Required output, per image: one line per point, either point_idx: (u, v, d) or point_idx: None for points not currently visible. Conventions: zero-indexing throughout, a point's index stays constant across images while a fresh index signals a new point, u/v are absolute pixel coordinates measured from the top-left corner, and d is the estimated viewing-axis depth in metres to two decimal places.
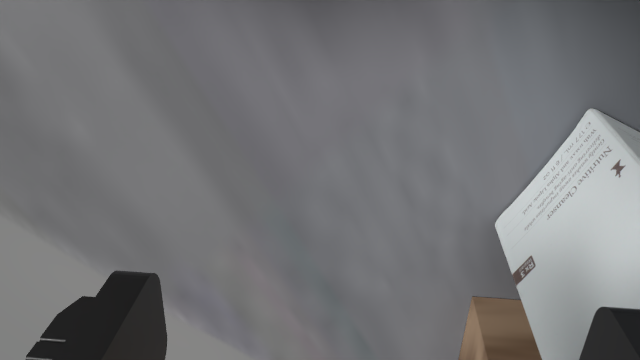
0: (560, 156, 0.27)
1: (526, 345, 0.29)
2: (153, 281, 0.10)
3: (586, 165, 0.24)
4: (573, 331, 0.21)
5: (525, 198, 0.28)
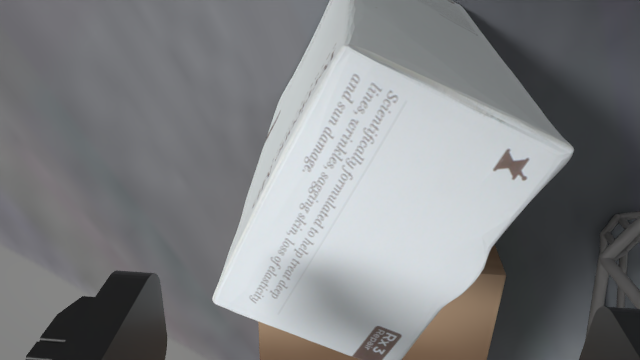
0: (326, 8, 0.24)
1: None
2: (153, 281, 0.10)
3: (331, 1, 0.22)
4: (265, 156, 0.18)
5: (300, 63, 0.25)
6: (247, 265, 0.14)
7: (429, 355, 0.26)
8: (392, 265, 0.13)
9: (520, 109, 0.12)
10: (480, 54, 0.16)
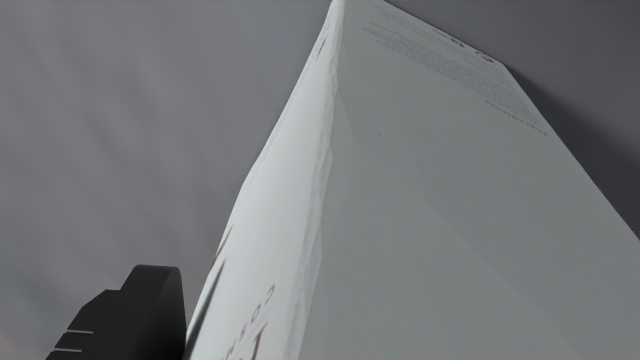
0: (305, 66, 0.16)
1: None
2: (175, 274, 0.10)
3: (309, 63, 0.14)
4: (184, 355, 0.10)
5: (268, 140, 0.18)
6: None
7: None
8: None
9: None
10: (577, 205, 0.08)
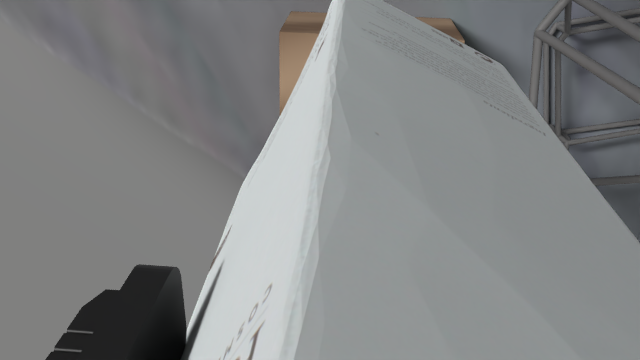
0: (304, 66, 0.16)
1: (320, 24, 0.34)
2: (175, 275, 0.10)
3: (308, 63, 0.14)
4: (183, 355, 0.10)
5: (267, 140, 0.18)
6: None
7: None
8: None
9: None
10: (576, 205, 0.08)
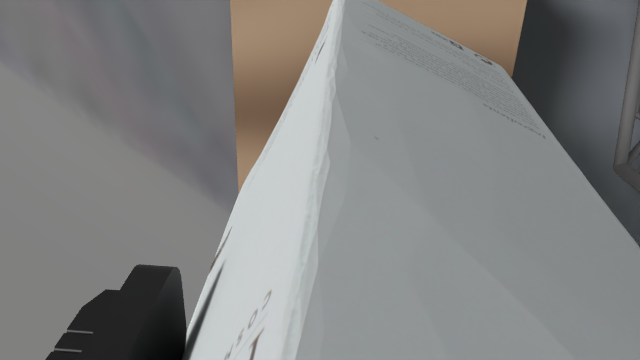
0: (304, 68, 0.16)
1: None
2: (174, 274, 0.10)
3: (308, 65, 0.14)
4: (183, 357, 0.10)
5: (267, 142, 0.18)
6: None
7: None
8: None
9: None
10: (575, 209, 0.08)
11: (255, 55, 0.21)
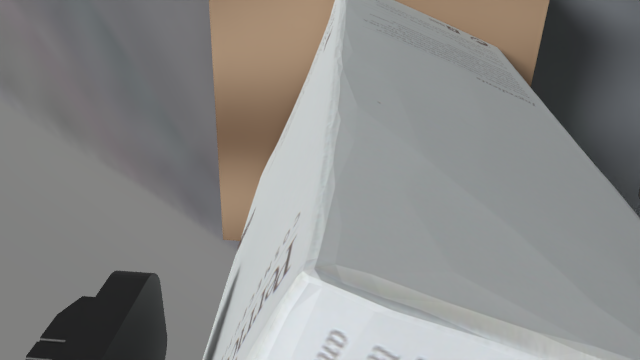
0: None
1: None
2: (153, 281, 0.10)
3: (317, 55, 0.15)
4: (221, 315, 0.12)
5: (283, 131, 0.19)
6: None
7: None
8: None
9: None
10: (557, 158, 0.10)
11: (238, 71, 0.19)
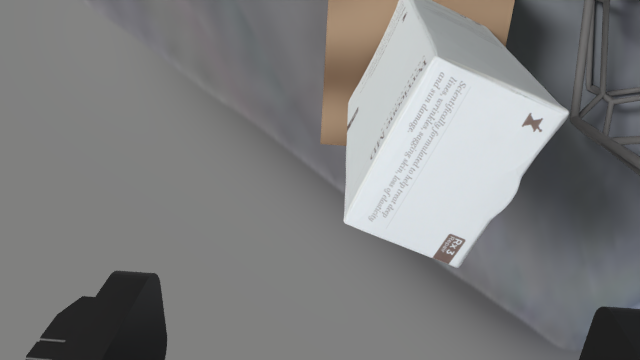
0: (386, 32, 0.32)
1: None
2: (153, 281, 0.10)
3: (394, 27, 0.30)
4: (361, 135, 0.26)
5: (365, 73, 0.34)
6: (368, 195, 0.22)
7: None
8: (461, 190, 0.21)
9: (536, 90, 0.21)
10: (507, 60, 0.24)
11: (340, 39, 0.34)
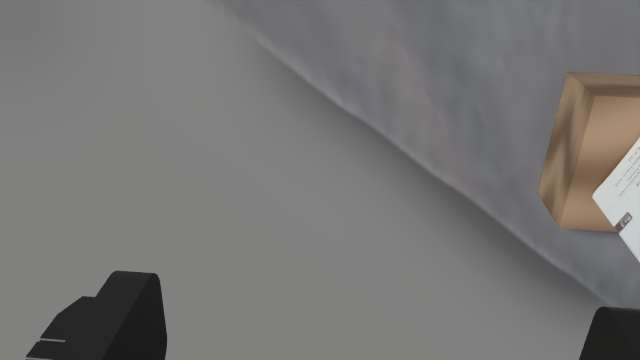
0: None
1: (615, 87, 0.40)
2: (153, 281, 0.10)
3: None
4: None
5: (615, 175, 0.40)
6: None
7: None
8: None
9: None
10: None
11: (594, 147, 0.40)
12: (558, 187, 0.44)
